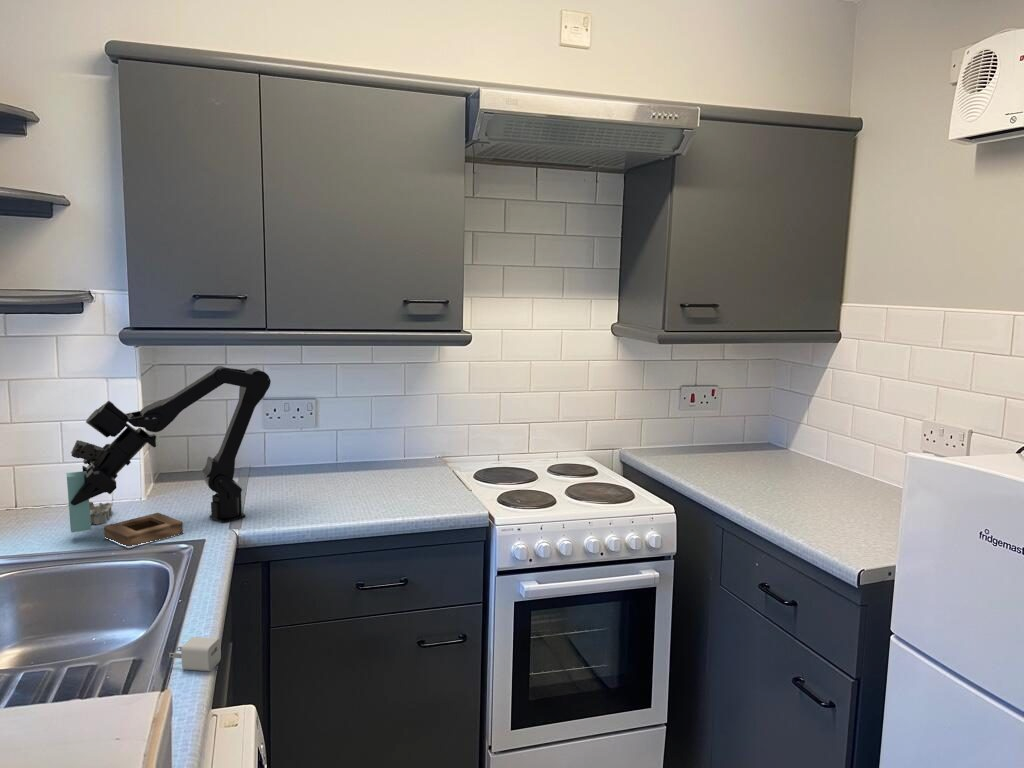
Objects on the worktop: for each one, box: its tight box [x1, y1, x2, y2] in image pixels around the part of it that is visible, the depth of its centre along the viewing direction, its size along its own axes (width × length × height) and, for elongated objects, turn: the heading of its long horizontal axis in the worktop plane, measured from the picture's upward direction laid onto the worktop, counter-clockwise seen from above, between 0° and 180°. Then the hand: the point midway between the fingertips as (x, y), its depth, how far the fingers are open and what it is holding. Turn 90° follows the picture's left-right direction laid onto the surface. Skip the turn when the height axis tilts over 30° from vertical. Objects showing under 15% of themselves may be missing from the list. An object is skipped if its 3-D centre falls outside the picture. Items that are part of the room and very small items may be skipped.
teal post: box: [66, 470, 92, 533], centre depth 169 cm, size 4×4×13 cm
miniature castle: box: [89, 501, 114, 525], centre depth 184 cm, size 11×8×4 cm
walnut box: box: [103, 512, 184, 546], centre depth 173 cm, size 13×11×3 cm
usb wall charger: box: [168, 636, 222, 672], centre depth 117 cm, size 4×7×4 cm, turn 85°
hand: (71, 501), depth 168 cm, fingers closed on teal post, 4 cm apart
